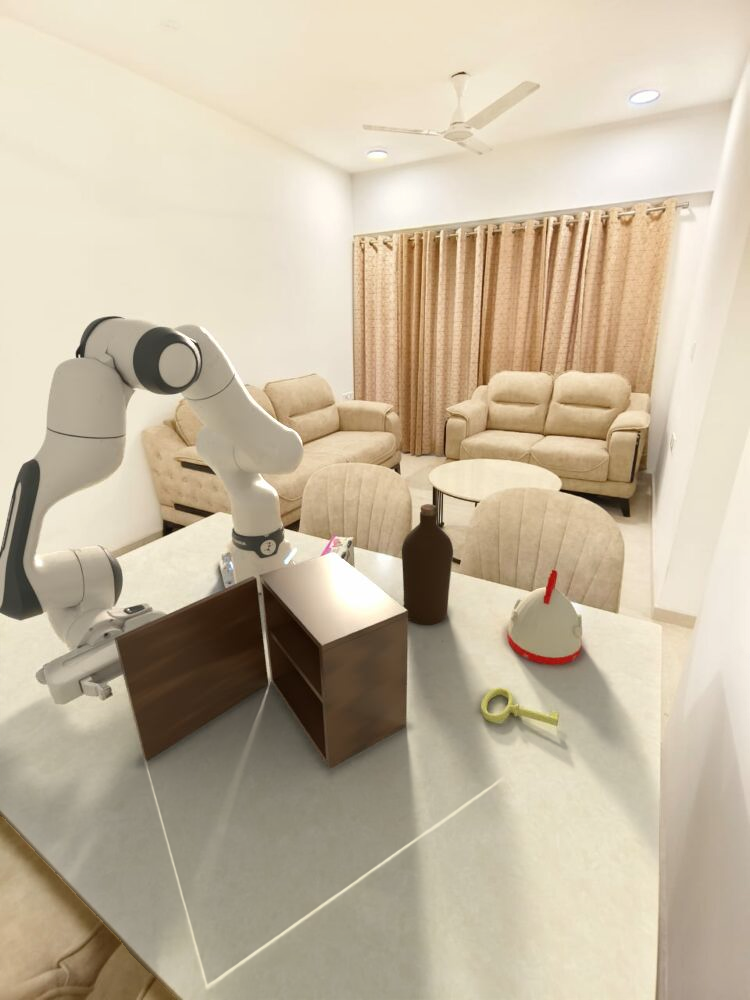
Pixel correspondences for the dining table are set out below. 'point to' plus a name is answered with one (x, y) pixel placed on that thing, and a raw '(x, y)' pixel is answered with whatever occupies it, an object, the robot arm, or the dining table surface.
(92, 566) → the robot arm
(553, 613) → the kitchen timer
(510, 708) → the key
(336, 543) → the candy bar box
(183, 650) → the door
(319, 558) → the cupboard
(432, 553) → the olive oil
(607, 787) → the dining table surface
